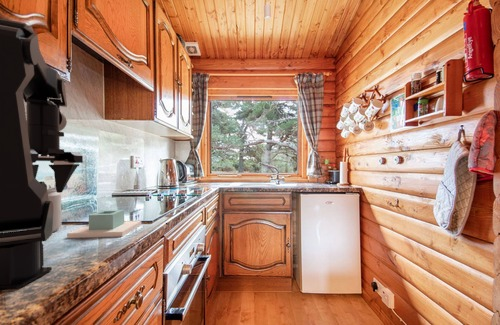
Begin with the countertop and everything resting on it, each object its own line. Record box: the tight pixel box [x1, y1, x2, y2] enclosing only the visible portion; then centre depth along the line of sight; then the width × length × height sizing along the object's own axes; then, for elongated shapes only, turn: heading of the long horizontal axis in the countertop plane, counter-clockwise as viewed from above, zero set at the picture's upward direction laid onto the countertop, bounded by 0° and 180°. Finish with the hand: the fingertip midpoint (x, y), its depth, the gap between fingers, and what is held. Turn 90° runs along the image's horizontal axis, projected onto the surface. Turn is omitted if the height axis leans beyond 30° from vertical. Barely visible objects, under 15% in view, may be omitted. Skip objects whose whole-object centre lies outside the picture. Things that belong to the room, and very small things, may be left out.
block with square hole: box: [88, 209, 125, 230], centre depth 69 cm, size 6×6×4 cm
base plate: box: [66, 211, 142, 239], centre depth 69 cm, size 12×14×5 cm
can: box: [28, 188, 63, 233], centre depth 69 cm, size 8×8×12 cm
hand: (44, 194), depth 56 cm, fingers open, 9 cm apart
